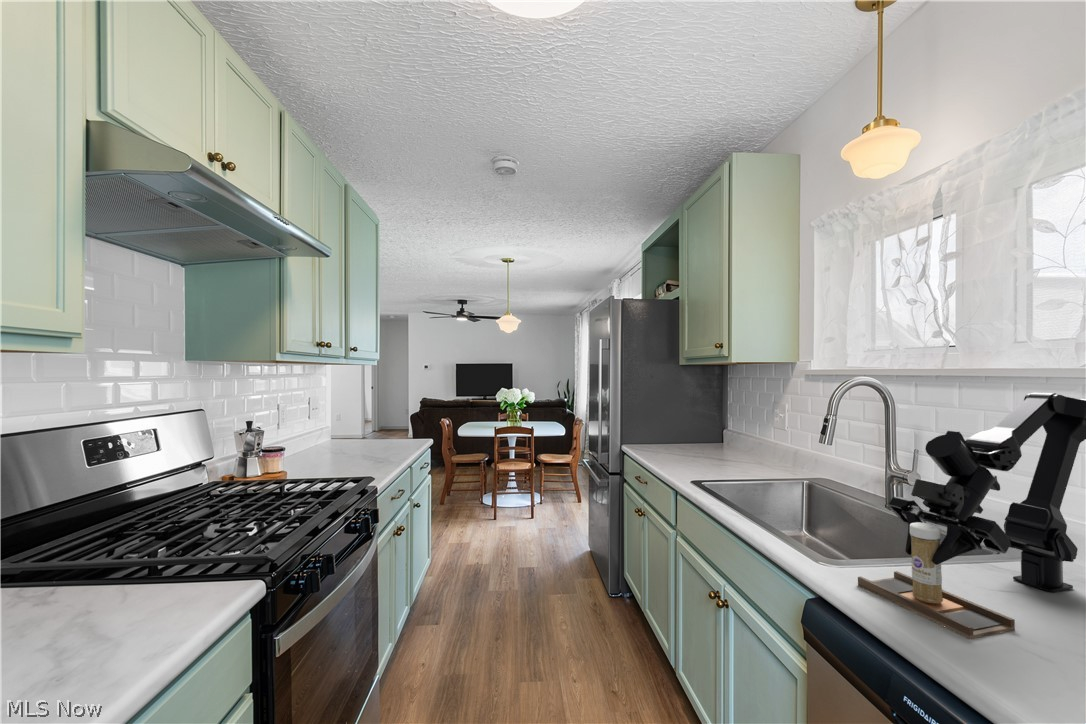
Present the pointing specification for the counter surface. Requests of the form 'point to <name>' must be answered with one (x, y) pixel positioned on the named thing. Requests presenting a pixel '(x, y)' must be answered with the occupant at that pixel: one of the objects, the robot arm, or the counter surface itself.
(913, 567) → the sprinkles bottle
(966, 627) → the board
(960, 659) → the counter surface
